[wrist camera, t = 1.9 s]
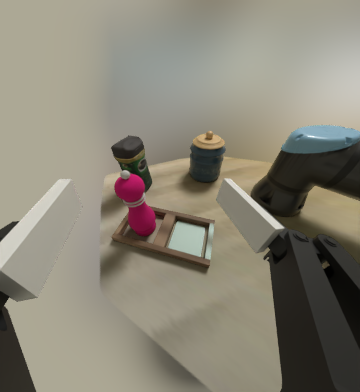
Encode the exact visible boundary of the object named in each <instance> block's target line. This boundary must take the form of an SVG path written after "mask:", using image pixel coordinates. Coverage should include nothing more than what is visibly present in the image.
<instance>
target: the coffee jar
mask: <svg viewBox="0 0 360 392" xmlns="http://www.w3.org/2000/svg"><path fill="white" fill-rule="evenodd" d="M111 149H112V151H113V154H114V157H115V159H116V160H117V161H118V162H119V164H120V167H121V169H122V171H124V170H127V171H128V172H129V173H130V174H134V175H137V176H139V177H140V178H141V179H142V180H143V182H144V184H145V191H146V190H147V189H148V188H149V187H150V185H151V184H152V179H151V176H150V173H149V170H148V166H147V163H146V159H145V149H144V145H143V142H142V140H141V139H140V138H139V137H135V136H128V137H126V138H124V139H123V140H121V141H119V142H118V143H116V144H115V145H113V146H112V147H111ZM145 191H144V192H145Z"/></svg>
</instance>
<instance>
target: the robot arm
mask: <svg viewBox="0 0 360 392" xmlns="http://www.w3.org/2000/svg"><path fill="white" fill-rule="evenodd" d="M314 186H318V187H321V188H324V189H327V190H330V191H333V192H336V193H339V194H341V195H344V196H347V197H350V198H353V199H356V200H358V201H360V132H359V131H357V130H355V129H350V128H345V127H340V126H330V125H317V126H316V125H315V126H307V127H302V128H299V129H297V130H295V131H294V132H292V133H291V134H290V136H289V137H288V139H287V140H286V142H285V144H283V145H282V147H281V151H280V153H279V155H278V156H277V158H276V160H275V161H274V163H273V165H272V166H271V168H270V170H269V172H268V173H267V175H266V176H265V177H263V178H262V179H261V180H260V181H259V182H258V183H257V184H255V186H254V187H253V189H252V191H251V196H252V198H251V197H250V196H249V195H248V194H246V193H245V192H244V191H243V190H242V189H241V188H240V187H239V186H238V185H237V184H235V183H234V182H233V181H232V180H231V179H223V182H222V184H221V187H220V190H219V192H218V195H217V198H216V201H217V202H218V203H219V205H220V206H221V207H222V209H223V210H224V211H225V213H226V214H227V215H228V217H229V218H230V219H231V221H232V222H233V223H234V225H235V226H236V227H237V229H238V230H239V232H240V233H241V234H242V236H243V237H244V238H245V240H246V241H247V242H248V244H249V245H250V246H251V248H252V249H253V250H254V252H255V253H259V252H264V251H265V249H266V248H267V247H269V249H270V251H269V252H268V253H267V254H266V255H265V256H264V260H265V259H266V258H267V257H269V259H268V260H267V261H269V263H270V272H271V281H272V290H273V300H274V309H275V318H276V327H277V336H278V346H279V355H280V364H281V373H282V389H281V391H280V392H360V265H359V264H358V263H357V262H356V261H355V260H354V259H353V258H352V257H351V256H350V254H349V253H348V252H347V251H346V250H345V249H344V248H343V247H342V246H341V245H340V244H339V243H338V242H337V241H335V240H334V239H333V238H331V237H329V236H326V235H323V234H319V235H317V236H316V237H315V238H308V237H307V236H305V235H304V234H303V233H301V232H299V231H297V230H289V229H287V228H286V227H285V226H284V225H283V224H282V223H281V222H279V221H278V220H277V219H276V218H275V217H274V216H272V214H274V215H277V216H283V217H289V216H294V215H296V214H297V213H298V212H299V211H300V210H301V209H302V208H303V206H304V203H305V201H306V198H307V195H308V192H309V191H310V190H311V189H312V188H313V187H314ZM82 207H83V206H82V204H81V201H80V199H79V196H78V194H77V191H76V188H75V186H74V183H73V181H72V179H59V180H58V181H57V182H56V183H55V184H54V186H52V188H51V189H50V190H49V191H48V192H47V193H46V194H45V195H44V196H43V197H42V198H41V199H40V200H39V202H37V204H36V205H35V206H34V207H33V208H32V209H31V210H30V211H29V212H28V213H27V214H26V215H25V216H24V217H23V218H22V219H21V221H17V222H12V223H10V224H9V225H7V226H5V227H4V228H2V229H1V230H0V392H36V390H35V387H34V384H33V381H32V379H31V376H30V373H29V370H28V367H27V364H26V362H25V358H24V356H23V353H22V350H21V347H20V344H19V342H18V338H17V336H16V333H15V330H14V327H13V324H12V322H11V318H10V316H9V313H8V310H7V309H6V307H4V305H5V303H6V302H7V300H8V298H9V297H10V298H11V299H13V300H15V301H17V302H18V301H23V300H28V299H33V298H37V297H38V296H39V294H40V292H41V290H42V288H43V286H44V284H45V282H46V280H47V278H48V276H49V274H50V272H51V270H52V268H53V266H54V264H55V262H56V260H57V258H58V256H59V253H60V252H61V250H62V248H63V246H64V244H65V242H66V240H67V238H68V236H69V234H70V232H71V230H72V228H73V226H74V224H75V221H76V220H77V218H78V215H79V213H80V211H81V209H82ZM270 213H271V214H270ZM326 261H327V262H328V263H329V264H330V266H328V267H327V268H325V269H323V268H322V265H321V264H323V263H324V262H326Z"/></svg>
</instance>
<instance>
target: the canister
mask: <svg viewBox="0 0 360 392" xmlns="http://www.w3.org/2000/svg"><path fill="white" fill-rule="evenodd" d="M224 143H225V142H224V140H223V139H221V138H220V137H219V136H217V135H214V134H213V132H212V131H208V132H207V133H206V134H202V135H199V136H198V137H196V138H194V140H193V144H192V145H191V147H190V149H191V151H192V152H191V154H190V168H189V172H190V175H191V177H192V178H193V179H195V180H197V181H200V182H212V181H214V180H216V179H217V178H218V176H219V174H220V168H221V164H222V161H223V153H224V152H225V150H226V149H225V147H224Z"/></svg>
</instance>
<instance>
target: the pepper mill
mask: <svg viewBox="0 0 360 392" xmlns="http://www.w3.org/2000/svg"><path fill="white" fill-rule="evenodd" d="M120 175H121V177H119V178H118V179H117V181H116V183H115V192H116V194H117V196H118V197H119V198H121V199H122V201H123V203H124V204H125V205H126V206H128V208H129V213H128V222H129V225H130V227H131V228H132V229H133V230H135V232H136V234H137V235H139V236H148V235H150V234H151V233H152V232H153V231H154V230H155V228H156V223H155V219H156V217H155V213H154V211H153V210H152V209H151V208H150V207H149V206H148V205H146V203H145V198H146V197H145V193H144V191H145V184H144V182H143V180H142V179H141V178H140V177H139V176H137V175H134V174H130V173H129V172H128V171H127V170H124V171H122V172H121V174H120Z"/></svg>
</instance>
